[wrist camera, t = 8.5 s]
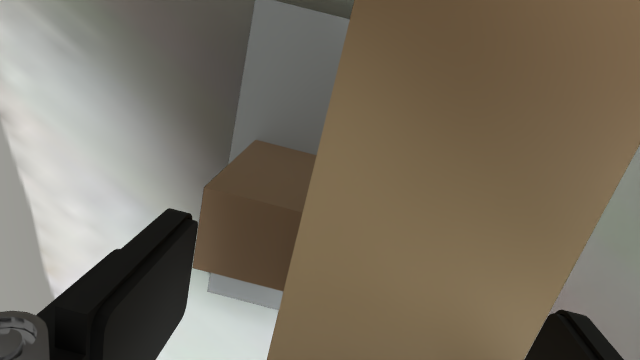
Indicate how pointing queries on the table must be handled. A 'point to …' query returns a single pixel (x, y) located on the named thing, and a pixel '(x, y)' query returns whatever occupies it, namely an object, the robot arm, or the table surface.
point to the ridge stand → (269, 152)
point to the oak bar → (459, 176)
